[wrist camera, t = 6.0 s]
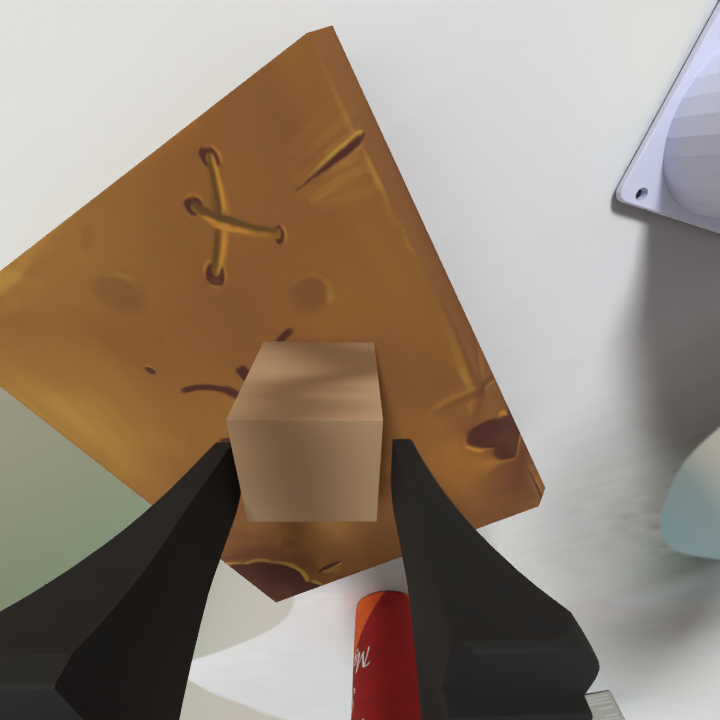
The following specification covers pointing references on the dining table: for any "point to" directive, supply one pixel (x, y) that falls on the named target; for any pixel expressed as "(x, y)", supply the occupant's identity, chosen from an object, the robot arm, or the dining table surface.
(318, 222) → the diary
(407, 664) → the paper cup
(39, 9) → the dining table surface
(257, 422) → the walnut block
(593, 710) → the skincare box
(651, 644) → the dining table surface
